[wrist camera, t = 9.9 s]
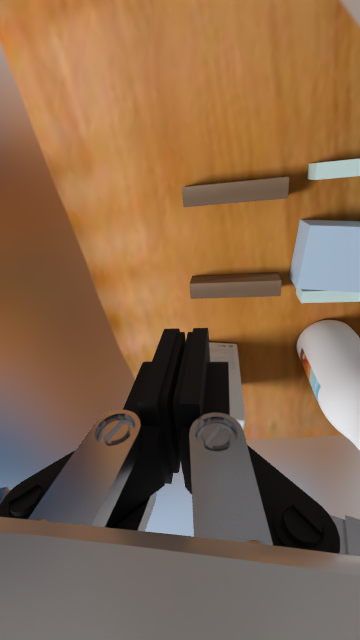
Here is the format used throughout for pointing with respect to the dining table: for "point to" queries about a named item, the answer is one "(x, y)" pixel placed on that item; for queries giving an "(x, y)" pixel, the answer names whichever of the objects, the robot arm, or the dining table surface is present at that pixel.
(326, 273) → the block
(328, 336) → the milk bottle
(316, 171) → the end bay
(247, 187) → the brown parallel rails
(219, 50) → the dining table surface
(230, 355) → the skincare box
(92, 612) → the robot arm
